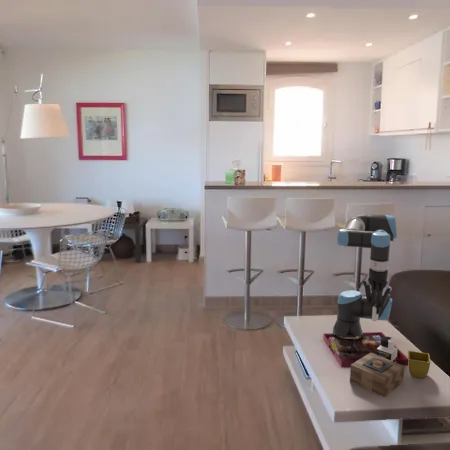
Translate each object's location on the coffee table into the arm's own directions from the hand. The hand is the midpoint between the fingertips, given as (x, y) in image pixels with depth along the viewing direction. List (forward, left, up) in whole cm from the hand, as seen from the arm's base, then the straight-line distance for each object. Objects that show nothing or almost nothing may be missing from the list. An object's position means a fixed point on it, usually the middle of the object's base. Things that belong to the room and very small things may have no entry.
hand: (375, 319), depth 199 cm
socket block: (+5, +5, -26) cm, 27 cm away
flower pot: (-14, +14, -26) cm, 33 cm away
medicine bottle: (-14, -1, -26) cm, 29 cm away
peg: (+5, +5, -25) cm, 26 cm away
